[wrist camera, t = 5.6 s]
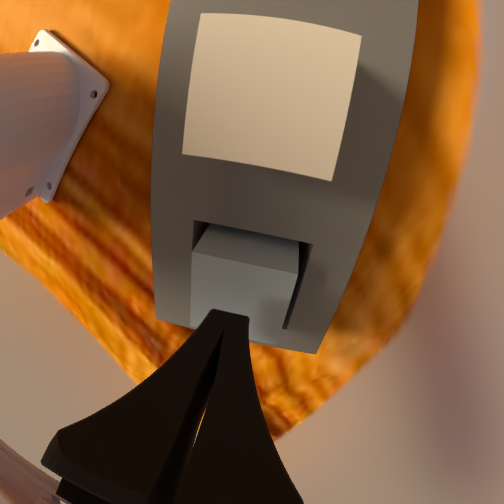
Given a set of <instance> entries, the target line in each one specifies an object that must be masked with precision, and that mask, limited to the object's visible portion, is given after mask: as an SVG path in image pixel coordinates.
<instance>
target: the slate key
mask: <svg viewBox="0 0 504 504" xmlns="http://www.w3.org/2000/svg"><path fill="white" fill-rule="evenodd" d="M298 264H299V241H296V240H292V239H287V238H282V237H277V236H272V235H268V234H263V233H258V232H253V231H248V230H243V229H238V228H233V227H228V226H223V225H218V224H213V223H210V225H209V226H208V228H207V229H206V231H205V232H204V234H203V236H202V237H201V239H200V240H199V242H198V243H197V245H196V246H195V248H194V250H193V251H192V265H191V300H190V326H193V327H197V328H198V326H199V325H200V324H201V322H202V321H203V320H204V318H205V317H206V316H207V314H208V313H209V311H210V310H211V309H218V310H222V311H227V312H231V313H236V314H240V315H245V316H248V317H249V318H250V322H249V340H254V341H258V342H263V343H268V344H274V345H276V344H277V341H278V338H279V335H280V332H281V329H282V326H283V323H284V319H285V316H286V313H287V310H288V307H289V303H290V300H291V297H292V294H293V290H294V287H295V284H296V280H297V277H298Z"/></svg>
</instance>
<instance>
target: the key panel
mask: <svg viewBox="0 0 504 504" xmlns="http://www.w3.org/2000/svg"><path fill="white" fill-rule="evenodd" d="M418 1H419V0H171V2H170V7H169V12H168V17H167V22H166V27H165V33H164V39H163V45H162V52H161V58H160V66H159V73H158V82H157V91H156V100H155V112H154V124H153V140H152V160H151V245H152V267H153V283H154V296H155V307H156V318H157V319H159V320H163V321H166V322H170V323H173V324H177V325H181V326H184V327H188V328H192V329H197V327H193V326H190V300H191V265H192V251H193V250H194V248H195V246H196V245H197V243H198V242H199V240H200V239H201V237H202V236H203V234H204V232H205V231H206V229H207V228H208V226H209V225H210V223H213V224H218V225H223V226H228V227H233V228H238V229H243V230H248V231H253V232H258V233H263V234H268V235H272V236H277V237H282V238H287V239H292V240H296V241H301V242H304V244H303V248H302V251H301V255H300V259H299V264H298V277H297V280H296V284H295V287H294V290H293V294H292V297H291V300H290V303H289V307H288V310H287V313H286V316H285V319H284V323H283V326H282V329H281V332H280V335H279V338H278V341H277V344H276V345H274V344H268V343H263V342H258V341H254V340H249V342H252V343H257V344H262V345H267V346H272V347H277V348H282V349H288V350H293V351H299V352H305V353H311V354H316V353H317V351H318V349H319V347H320V344H321V342H322V340H323V338H324V336H325V334H326V332H327V330H328V327H329V325H330V323H331V321H332V319H333V316H334V314H335V312H336V310H337V307H338V305H339V303H340V300H341V298H342V296H343V293H344V291H345V288H346V286H347V284H348V281H349V279H350V276H351V274H352V271H353V269H354V266H355V264H356V261H357V258H358V256H359V253H360V250H361V248H362V245H363V242H364V240H365V237H366V234H367V231H368V228H369V225H370V223H371V220H372V217H373V214H374V211H375V208H376V205H377V201H378V198H379V195H380V192H381V189H382V185H383V182H384V179H385V175H386V172H387V169H388V165H389V161H390V158H391V154H392V150H393V147H394V143H395V139H396V135H397V131H398V127H399V122H400V118H401V114H402V109H403V104H404V100H405V95H406V90H407V85H408V79H409V73H410V68H411V61H412V55H413V48H414V41H415V33H416V24H417V14H418ZM201 13H224V14H244V15H257V16H267V17H275V18H283V19H289V20H296V21H301V22H307V23H312V24H317V25H322V26H326V27H330V28H335V29H339V30H343V31H346V32H350V33H354V34H357V35H361V36H362V37H361V44H360V50H359V56H358V61H357V67H356V72H355V78H354V83H353V88H352V93H351V98H350V103H349V108H348V113H347V117H346V122H345V127H344V131H343V136H342V140H341V144H340V149H339V153H338V157H337V161H336V165H335V169H334V173H333V177H332V181H328V180H323V179H319V178H315V177H311V176H306V175H301V174H297V173H292V172H287V171H283V170H278V169H272V168H267V167H262V166H257V165H251V164H245V163H240V162H234V161H227V160H221V159H214V158H208V157H201V156H193V155H185V154H182V150H183V138H184V128H185V118H186V108H187V100H188V91H189V84H190V76H191V69H192V62H193V56H194V49H195V43H196V37H197V32H198V26H199V21H200V15H201Z"/></svg>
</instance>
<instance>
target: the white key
mask: <svg viewBox="0 0 504 504" xmlns="http://www.w3.org/2000/svg"><path fill="white" fill-rule="evenodd" d="M361 37H362V36H361V35H357V34H354V33H350V32H346V31H343V30H339V29H335V28H330V27H326V26H322V25H317V24H312V23H307V22H301V21H296V20H289V19H283V18H275V17H267V16H257V15H244V14H224V13H201V15H200V21H199V26H198V32H197V37H196V43H195V49H194V56H193V62H192V69H191V76H190V84H189V91H188V100H187V108H186V118H185V128H184V138H183V150H182V154H185V155H193V156H201V157H208V158H214V159H221V160H227V161H234V162H240V163H245V164H251V165H257V166H262V167H267V168H272V169H278V170H283V171H287V172H292V173H297V174H301V175H306V176H311V177H315V178H319V179H323V180H328V181H332V177H333V173H334V169H335V165H336V161H337V157H338V153H339V149H340V144H341V140H342V136H343V131H344V127H345V122H346V117H347V113H348V108H349V103H350V98H351V93H352V88H353V83H354V78H355V72H356V67H357V61H358V56H359V50H360V44H361Z"/></svg>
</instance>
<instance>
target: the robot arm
mask: <svg viewBox="0 0 504 504" xmlns="http://www.w3.org/2000/svg"><path fill="white" fill-rule="evenodd" d="M108 89H109V81H108V80H107V79H106V78H105V77H104V76H103V75H102V74H100V73H99V72H98V71H97V70H96V69H94V68H93V67H92V66H91V65H90V64H89V63H87V62H86V61H85V60H84V59H83V58H81V57H80V56H79V55H78V54H77V53H75V52H74V51H73V50H72V49H71V48H69V47H68V46H67V45H66V44H65V43H63V42H62V41H61V40H60V39H58V38H57V37H56V36H55V35H54V34H52V33H51V32H50V31H49V30H47V29H42V30H41V31H39V33H38V34H37V36H36V38H35V40H34V42H33V44H32V45H31V47H30V49H29V51H28V52H18V53H6V54H0V220H1V219H3V218H4V217H6V216H7V215H9V214H10V213H12V212H13V211H15V210H16V209H18V208H19V207H21V206H23V205H24V204H26V203H28V202H29V201H31V200H33V199H34V198H36V197H38V196H39V197H40V198H41V199H42V200H43V201H44V202H45V203H49V202H50V201H52V199H53V197H54V194H55V192H56V189H57V187H58V185H59V182H60V180H61V178H62V175H63V173H64V171H65V169H66V166H67V164H68V162H69V160H70V158H71V156H72V154H73V152H74V150H75V148H76V146H77V144H78V142H79V140H80V138H81V136H82V134H83V132H84V130H85V129H86V127H87V125H88V123H89V121H90V120H91V118H92V116H93V114H94V113H95V111H96V109H97V108H98V106H99V104H100V103H101V101H102V100H103V98H104V96H105V95H106V93H107V92H108ZM95 91H97V97H96V98H95ZM249 322H250V318H249V317H248V316H245V315H240V314H236V313H231V312H227V311H222V310H218V309H211V310H210V311H209V313H208V314H207V316H206V317H205V318H204V320H203V321H202V322H201V324H200V325H199V326H198V328H197V329H196V330H195V331H194V332H193V334H192V335H191V336H190V337H189V338H188V339H187V340H186V341H185V343H184V344H183V345H182V346H181V347H180V348H179V349H178V350H177V351H176V352H175V353H174V354H173V355H172V356H171V357H170V358H169V359H168V360H167V361H166V362H165V363H164V364H163V365H162V366H161V367H160V368H159V369H157V370H156V371H155V372H154V373H153V374H152V375H150V376H149V377H148V378H147V379H146V380H144V381H143V382H142V383H141V384H139V385H138V386H137V387H135V388H134V389H132V390H131V391H130V392H128V393H127V394H126V395H124V396H123V397H121V398H120V399H118V400H117V401H115V402H113V403H112V404H110V405H108V406H106V407H105V408H103V409H101V410H99V411H98V412H96V413H94V414H92V415H91V416H89V417H87V418H85V419H83V420H80V421H78V422H76V423H74V424H71V425H69V426H67V427H64V428H62V429H60V430H58V432H57V433H56V435H55V436H54V438H53V439H52V440H51V442H50V443H49V445H48V447H47V449H46V451H45V453H44V455H43V457H42V459H41V464H42V465H43V466H45V467H46V468H48V469H49V470H51V471H52V472H54V473H56V474H58V475H59V476H60V477H62V480H61V482H59V481H57V480H55V479H54V478H52V477H51V476H49V475H47V474H46V473H45V472H43V471H41V470H40V469H39V468H37V467H36V466H34V465H33V464H31V463H30V462H29V461H27V460H26V459H25V458H23V457H22V456H21V455H19V454H18V453H17V452H16V451H14V450H13V449H12V448H11V447H9V446H8V445H7V444H6V443H4V442H3V441H2V440H1V439H0V504H61V503H60V500H61V501H63V502H65V503H66V504H304V503H303V500H302V498H301V496H300V495H299V493H298V491H297V490H296V488H295V486H294V484H293V483H292V481H291V479H290V477H289V475H288V473H287V471H286V469H285V467H284V465H283V463H282V461H281V459H280V457H279V455H278V452H277V450H276V448H275V445H274V442H273V440H272V438H271V435H270V433H269V430H268V427H267V424H266V421H265V419H264V415H263V412H262V409H261V405H260V402H259V398H258V394H257V390H256V386H255V381H254V376H253V371H252V364H251V357H250V348H249ZM207 403H208V404H207ZM206 406H207V408H206ZM205 408H206V411H205ZM204 411H205V414H204ZM203 414H204V417H203V420H202V423H201V426H200V429H199V432H198V435H197V438H196V441H195V437H196V434H197V430H198V427H199V424H200V421H201V419H202V416H203ZM194 441H195V443H194ZM193 445H194V446H193ZM59 499H60V500H59Z"/></svg>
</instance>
